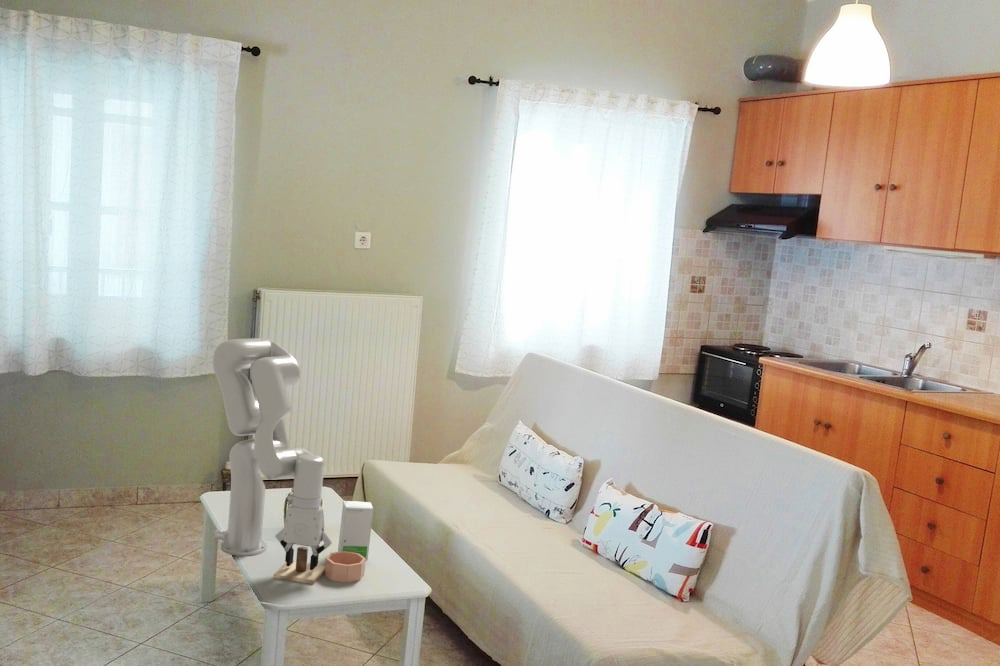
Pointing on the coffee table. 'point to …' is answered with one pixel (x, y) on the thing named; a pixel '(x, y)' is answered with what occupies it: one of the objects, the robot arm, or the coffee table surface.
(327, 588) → the coffee table surface
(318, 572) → the lid
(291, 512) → the robot arm
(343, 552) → the bowl
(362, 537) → the skincare box
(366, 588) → the coffee table surface
